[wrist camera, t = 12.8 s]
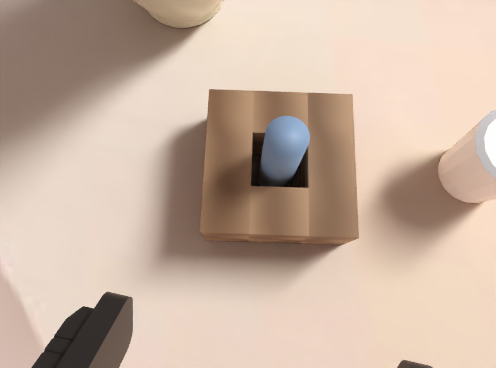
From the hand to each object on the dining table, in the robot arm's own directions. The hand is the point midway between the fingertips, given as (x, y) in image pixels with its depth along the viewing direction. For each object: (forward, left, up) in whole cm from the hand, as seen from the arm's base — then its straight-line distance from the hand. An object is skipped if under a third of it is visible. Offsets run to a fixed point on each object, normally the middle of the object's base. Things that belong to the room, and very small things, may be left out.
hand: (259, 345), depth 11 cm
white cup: (-20, -12, -21) cm, 32 cm away
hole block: (-2, -11, -21) cm, 24 cm away
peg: (-2, -11, -21) cm, 24 cm away
